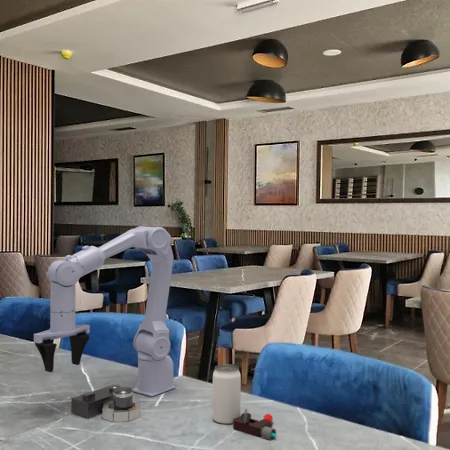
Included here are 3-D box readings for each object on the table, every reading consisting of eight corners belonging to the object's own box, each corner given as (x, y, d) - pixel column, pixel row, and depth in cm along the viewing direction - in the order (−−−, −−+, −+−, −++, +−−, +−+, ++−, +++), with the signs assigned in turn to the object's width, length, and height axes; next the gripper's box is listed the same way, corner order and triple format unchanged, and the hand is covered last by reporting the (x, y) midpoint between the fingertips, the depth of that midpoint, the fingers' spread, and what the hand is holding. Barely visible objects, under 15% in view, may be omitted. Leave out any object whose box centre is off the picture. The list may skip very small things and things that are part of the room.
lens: (127, 410, 130) (127, 385, 130) (136, 416, 126) (136, 390, 126) (109, 414, 127) (109, 389, 127) (118, 420, 123) (118, 394, 123)
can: (224, 412, 129) (224, 362, 129) (245, 418, 125) (246, 367, 125) (206, 419, 124) (207, 368, 124) (228, 427, 120) (228, 373, 120)
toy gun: (273, 444, 112) (273, 421, 112) (226, 430, 119) (226, 408, 119) (296, 429, 120) (296, 408, 120) (251, 417, 127) (251, 397, 127)
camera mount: (113, 398, 138) (113, 380, 138) (155, 411, 129) (155, 392, 129) (71, 412, 128) (71, 393, 128) (113, 428, 119) (113, 407, 119)
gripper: (77, 305, 137) (76, 358, 137) (26, 313, 125) (25, 371, 126) (95, 308, 133) (95, 363, 133) (44, 316, 121) (44, 377, 121)
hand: (62, 367), depth 129 cm, fingers open, 7 cm apart
